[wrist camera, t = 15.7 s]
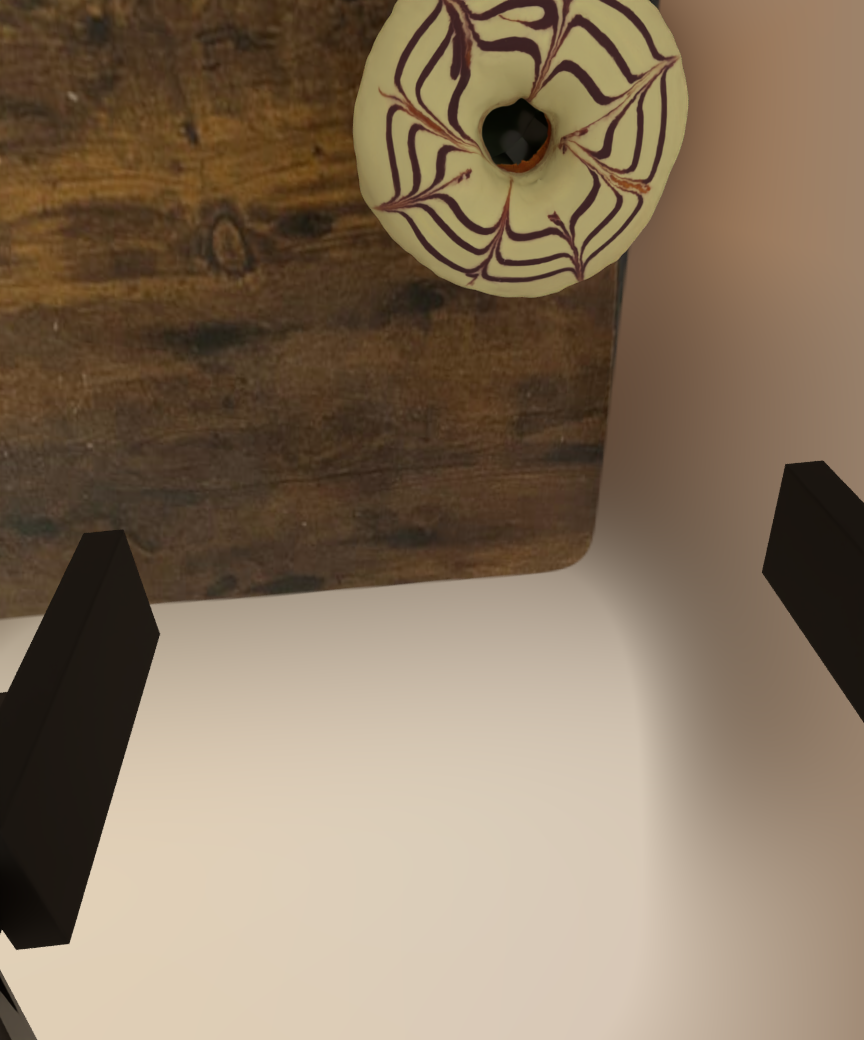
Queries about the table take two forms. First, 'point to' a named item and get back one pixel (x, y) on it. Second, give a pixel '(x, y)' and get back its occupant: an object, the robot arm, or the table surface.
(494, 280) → the decorated donut
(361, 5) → the table surface
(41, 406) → the table surface
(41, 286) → the table surface
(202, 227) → the table surface
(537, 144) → the cup
